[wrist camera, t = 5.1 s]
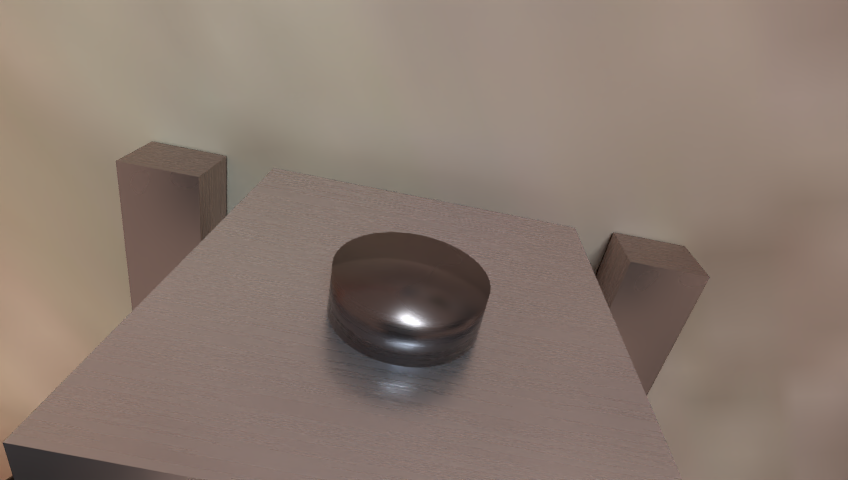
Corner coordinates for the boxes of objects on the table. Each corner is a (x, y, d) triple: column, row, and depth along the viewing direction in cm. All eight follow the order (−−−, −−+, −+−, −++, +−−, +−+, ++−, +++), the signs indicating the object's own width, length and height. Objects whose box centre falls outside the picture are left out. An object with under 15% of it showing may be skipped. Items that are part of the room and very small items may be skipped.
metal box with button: (585, 197, 9) (761, 529, 4) (483, 478, 12) (496, 852, 7) (275, 135, 9) (-16, 383, 3) (262, 437, 12) (108, 785, 7)
